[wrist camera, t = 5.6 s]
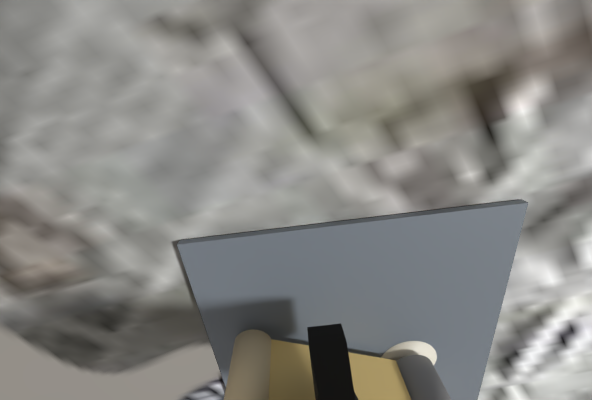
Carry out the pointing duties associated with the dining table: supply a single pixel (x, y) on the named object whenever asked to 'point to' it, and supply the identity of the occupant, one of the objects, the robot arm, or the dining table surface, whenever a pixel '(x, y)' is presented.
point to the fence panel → (299, 381)
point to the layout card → (366, 285)
